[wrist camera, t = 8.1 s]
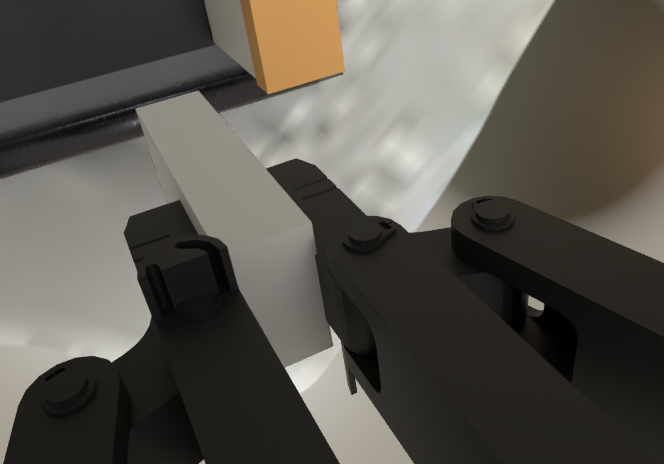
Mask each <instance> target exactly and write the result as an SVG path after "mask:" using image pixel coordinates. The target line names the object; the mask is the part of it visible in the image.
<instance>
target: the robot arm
mask: <svg viewBox="0 0 664 464" xmlns="http://www.w3.org/2000/svg"><path fill="white" fill-rule="evenodd" d="M136 112H137V115H138V118H139V121H140V124H141V127H142V130H143V133H144V136H145V139H146V142H147V145H148V148H149V151H150V154H151V157H152V160H153V163H154V166H155V169H156V172H157V175H158V178H159V181H160V184H161V187H162V190H163V193H164V196H165V199H166V202H167V204H166V205H163V206H160V207H157V208H154V209H151V210H148V211H145V212H142V213H139V214H136V215H133V216H130V217H129V220H128V223H127V226H126V229H125V231H124V235H125V238H126V241H127V244H128V247H129V249H130V252H131V255H132V258H133V261H134V263H135V266H136V269H137V279H138V282H139V284H140V287H141V289H142V292H143V294H144V297H145V300H146V302H147V305H148V307H149V310H150V312H151V315H152V317H151V322H150V326H149V328H148V329H147V331H146V333H145V335H144V336H143V337H142V338H141V340H140V341H139V342H138V343H137V344H136V345H135V346H134V347H133V348H131V349H130V350H129V351H128V352H126V353H125V354H124V355H122V356H121V357H119V358H118V359H116V360H115V361H113V362H112V363H111V362H110V361H109V360H108V359H104V358H100V357H96V356H88V357H78V358H74V359H71V360H68V361H66V362H63V363H60V364H58V365H56V366H54V367H53V368H51V369H49V370H48V371H46V372H45V373H43V374H42V375H40V376H39V377H38V378H37V379H36V380H35V381H34V382H33V383H32V384H31V386H29V388H28V389H27V390H26V391H25V393H24V395H23V398H22V399H21V401H20V403H19V405H18V409H17V413H16V417H15V421H14V424H13V428H12V432H11V436H10V440H9V444H8V447H7V451H6V455H5V459H4V463H3V464H199V463H200V462H201V461H202V460H203V459H204V460H205V463H206V464H340V463H339V462H338V460H337V458H336V456H335V455H334V453H333V451H332V450H331V448H330V446H329V444H328V443H327V441H326V439H325V437H324V436H323V434H322V432H321V431H320V429H319V427H318V425H317V424H316V422H315V420H314V418H313V417H312V415H311V413H310V411H309V410H308V408H307V406H306V404H305V403H304V401H303V399H302V397H301V396H300V394H299V392H298V390H297V389H296V387H295V385H294V384H293V382H292V380H291V378H290V377H289V375H288V373H287V371H286V370H285V367H287V366H289V365H292V364H294V363H296V362H298V361H301V360H303V359H305V358H307V357H310V356H312V355H314V354H317V353H319V352H321V351H323V350H326V349H328V348H330V347H332V346H333V343H332V337H331V331H330V326H331V327H332V329H333V330H334V332H335V333H336V334H337V336H338V337H339V339H340V340H341V345H342V351H343V357H344V363H345V369H346V375H347V382H348V386H349V389H350V392H351V395H353V394H355V393H357V388H356V382H355V378H356V380H357V381H358V382H359V384H360V385H361V387H362V388H363V390H364V391H365V393H366V394H367V396H368V397H369V399H370V400H371V401H372V403H373V404H374V406H375V407H376V409H377V410H378V412H379V413H380V415H381V416H382V417H383V419H384V420H385V422H386V423H387V425H388V426H389V428H390V429H391V431H392V432H393V433H394V435H395V436H396V438H397V439H398V441H399V442H400V444H401V445H402V446H403V448H404V449H405V451H406V452H407V454H408V455H409V457H410V458H411V460H412V461H413V463H414V464H664V263H662V262H660V261H658V260H655V259H653V258H651V257H648V256H646V255H644V254H641V253H639V252H637V251H634V250H632V249H630V248H627V247H625V246H622V245H620V244H618V243H616V242H613V241H611V240H609V239H606V238H604V237H601V236H599V235H597V234H595V233H592V232H590V231H587V230H585V229H583V228H580V227H578V226H576V225H573V224H571V223H569V222H566V221H564V220H562V219H559V218H557V217H555V216H552V215H550V214H548V213H545V212H543V211H541V210H538V209H536V208H534V207H531V206H529V205H527V204H524V203H522V202H520V201H517V200H513V199H510V198H506V197H500V196H499V197H498V196H484V197H478V198H473V199H470V200H468V201H466V202H463V203H461V204H460V205H459V206H458V207H457V208H456V209H455V210H454V211H453V214H452V218H451V228H444V229H438V230H432V231H425V232H415V233H408V232H407V231H406V230H405V229H404V228H403V227H402V226H401V225H399V224H398V223H396V222H394V221H393V220H391V219H388V218H384V217H379V216H366V215H365V214H364V213H363V212H362V211H361V210H360V209H359V208H358V207H357V206H356V205H355V204H354V203H353V202H352V201H351V200H350V199H349V198H348V197H347V196H346V195H345V194H344V193H343V192H342V191H341V190H340V189H339V188H337V187H336V185H335V184H334V183H333V182H332V181H331V180H330V179H327V176H326V175H325V174H324V173H323V172H322V171H321V170H319V169H318V168H317V167H316V166H315V165H313V164H310V163H307V162H304V161H302V160H299V159H293V160H290V161H287V162H284V163H281V164H278V165H275V166H272V167H269V168H267V169H265V167H264V166H263V165H262V164H261V163H260V162H259V160H258V159H257V158H256V157H255V156H254V155H253V153H252V152H251V151H250V150H249V149H248V148H247V146H246V145H245V144H244V143H243V142H242V141H241V140H240V138H239V137H238V136H237V135H236V134H235V133H234V131H233V130H232V129H231V128H230V127H229V126H228V124H227V123H226V122H225V121H224V120H223V119H222V117H221V116H220V115H219V114H218V113H217V112H216V110H215V109H214V108H213V107H212V106H211V105H210V103H209V102H208V101H207V100H206V99H205V98H204V97H203V95H202V94H201V93H200V92H199V91H195V92H191V93H188V94H185V95H181V96H178V97H174V98H171V99H167V100H164V101H160V102H157V103H153V104H150V105H146V106H143V107H140V108H136ZM529 295H530V296H531V297H533V298H535V299H537V300H539V301H541V302H543V303H544V304H545V305H544V310H537V309H535V308H532V307H530V306H529V305H528V297H529ZM329 325H330V326H329Z"/></svg>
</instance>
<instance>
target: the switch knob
mask: <svg viewBox="0 0 664 464" xmlns="http://www.w3.org/2000/svg"><path fill="white" fill-rule="evenodd" d="M204 3H205V7H206V11H207V15H208V20H209V24H210V28H211V32H212V36H213V41H214V43H215V44H217V45H218V46H219V47H220V48H221V49H222V50H223V51H225V52H226V53H227V54H228V55H229V56H230V57H231V58H233V59H234V60H235V61H236V62H237V63H238V64H240V65H241V66H242V67H243V68H244V69H245V70H246V71H248V72H249V73H250V74H251V75H252V76H253V77H254V78H256V81H257V85H258V86H259V87H260V88H261V89H263V90H264V91H265V92H266V93H267V94H271V93H274V92H277V91H281V90H284V89H287V88H291V87H294V86H297V85H301V84H304V83H307V82H311V81H314V80H317V79H321V78H324V77H327V76H331V75H334V74H337V73H341V72H344V71H345V70H344V61H343V53H342V44H341V36H340V27H339V19H338V10H337V2H336V0H204Z"/></svg>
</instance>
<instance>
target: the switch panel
mask: <svg viewBox="0 0 664 464" xmlns="http://www.w3.org/2000/svg"><path fill="white" fill-rule="evenodd" d="M340 75H343V72H341V73H337V74H334V75H331V76H327V77H324V78H321V79H317V80H314V81H311V82H307V83H304V84H301V85H297V86H294V87H291V88H287V89H284V90H281V91H277V92H274V93H271V94H267V93H266V92H265V91H264V90H263V89H261V88H260V87H259V86H258V85H257V81H256V78H254V77H253V76H252V75H251V74H250V73H249V72H248V71H246V70H245V69H244V68H243V67H242V66H241V65H240V64H238V63H237V62H236V61H235V60H234V59H233V58H231V57H230V56H229V55H228V54H227V53H226V52H225V51H223V50H222V49H221V48H220V47H219V46H218V45H217V44H215V43H214V41H213V36H212V32H211V28H210V24H209V20H208V15H207V11H206V7H205V3H204V0H0V179H2V178H6V177H9V176H12V175H16V174H19V173H22V172H25V171H29V170H32V169H35V168H39V167H42V166H45V165H49V164H52V163H55V162H59V161H62V160H65V159H68V158H72V157H75V156H78V155H82V154H85V153H88V152H92V151H95V150H98V149H102V148H105V147H108V146H112V145H115V144H118V143H121V142H125V141H128V140H131V139H135V138H138V137H141V136H144V133H143V130H142V127H141V124H140V121H139V118H138V115H137V112H136V108H140V107H143V106H146V105H150V104H153V103H157V102H160V101H164V100H167V99H171V98H174V97H178V96H181V95H185V94H188V93H191V92H195V91H199V92H200V93H201V94H202V95H203V97H204V98H205V99H206V100H207V101H208V102H209V103H210V105H211V106H212V107H213V108H214V109H215V110H216V112H217V113H221V112H224V111H227V110H231V109H234V108H237V107H241V106H244V105H247V104H251V103H254V102H257V101H261V100H264V99H267V98H270V97H274V96H277V95H280V94H284V93H287V92H290V91H294V90H297V89H300V88H304V87H307V86H310V85H313V84H316V83H319V82H320V81H323V80H326V79H330V78H333V77H336V76H340Z"/></svg>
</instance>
